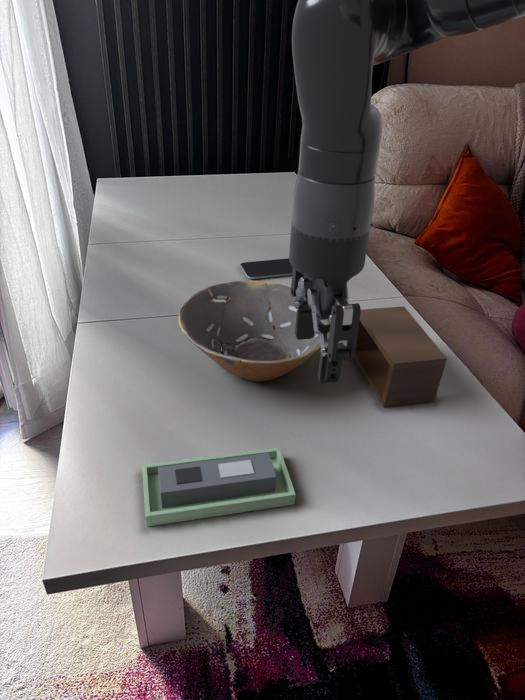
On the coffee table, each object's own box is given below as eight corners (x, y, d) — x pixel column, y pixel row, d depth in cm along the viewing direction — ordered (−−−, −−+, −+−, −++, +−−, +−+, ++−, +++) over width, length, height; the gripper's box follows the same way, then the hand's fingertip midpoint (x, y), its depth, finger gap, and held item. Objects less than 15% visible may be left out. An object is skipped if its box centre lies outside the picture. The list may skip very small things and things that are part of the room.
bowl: (157, 347, 100) (154, 299, 94) (270, 312, 112) (273, 268, 106) (228, 431, 83) (229, 379, 78) (352, 380, 95) (361, 332, 89)
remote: (267, 467, 77) (269, 451, 75) (275, 492, 74) (276, 476, 72) (159, 482, 74) (157, 466, 72) (161, 508, 71) (160, 492, 69)
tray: (278, 457, 80) (279, 447, 78) (294, 504, 73) (295, 494, 72) (143, 474, 76) (142, 464, 74) (146, 526, 69) (145, 516, 68)
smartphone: (311, 270, 126) (248, 277, 122) (310, 273, 127) (248, 280, 122) (299, 257, 132) (239, 262, 127) (299, 259, 132) (239, 265, 128)
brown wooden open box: (433, 402, 92) (447, 358, 86) (383, 407, 90) (394, 363, 85) (394, 347, 104) (404, 306, 99) (349, 351, 102) (357, 309, 97)
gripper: (399, 248, 48) (371, 393, 57) (342, 193, 59) (326, 322, 68) (317, 254, 46) (302, 402, 55) (274, 196, 57) (267, 327, 67)
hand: (315, 358), depth 62 cm, fingers open, 8 cm apart
